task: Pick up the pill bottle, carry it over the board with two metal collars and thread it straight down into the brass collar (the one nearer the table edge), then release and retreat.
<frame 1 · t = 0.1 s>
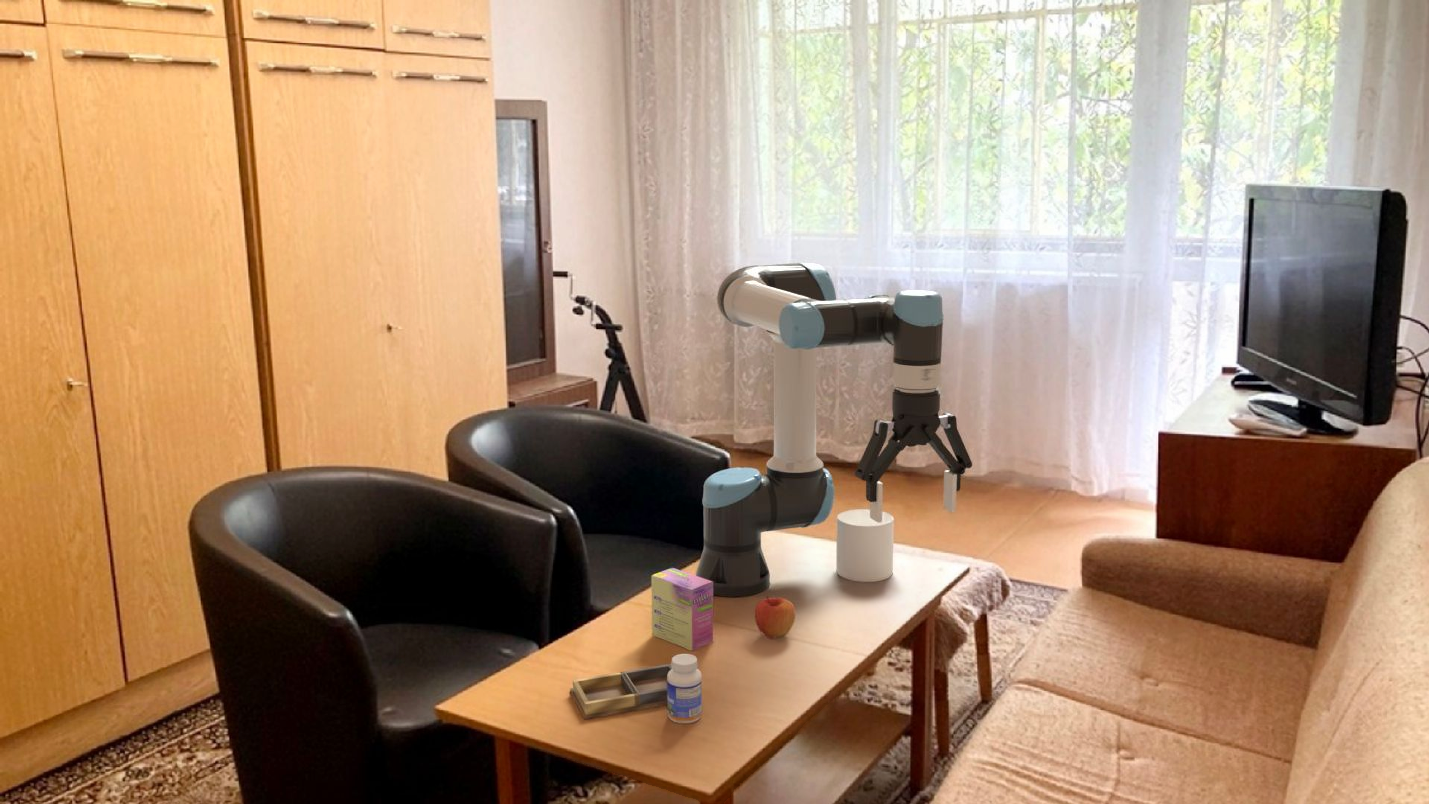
hand: (913, 515, 187), 28 cm above the table, fingers open, 13 cm apart
pill bottle: (685, 717, 179), on the table
cup: (864, 572, 239), on the table
box: (682, 640, 208), on the table
collar board: (630, 695, 186), on the table
apple: (774, 637, 208), on the table
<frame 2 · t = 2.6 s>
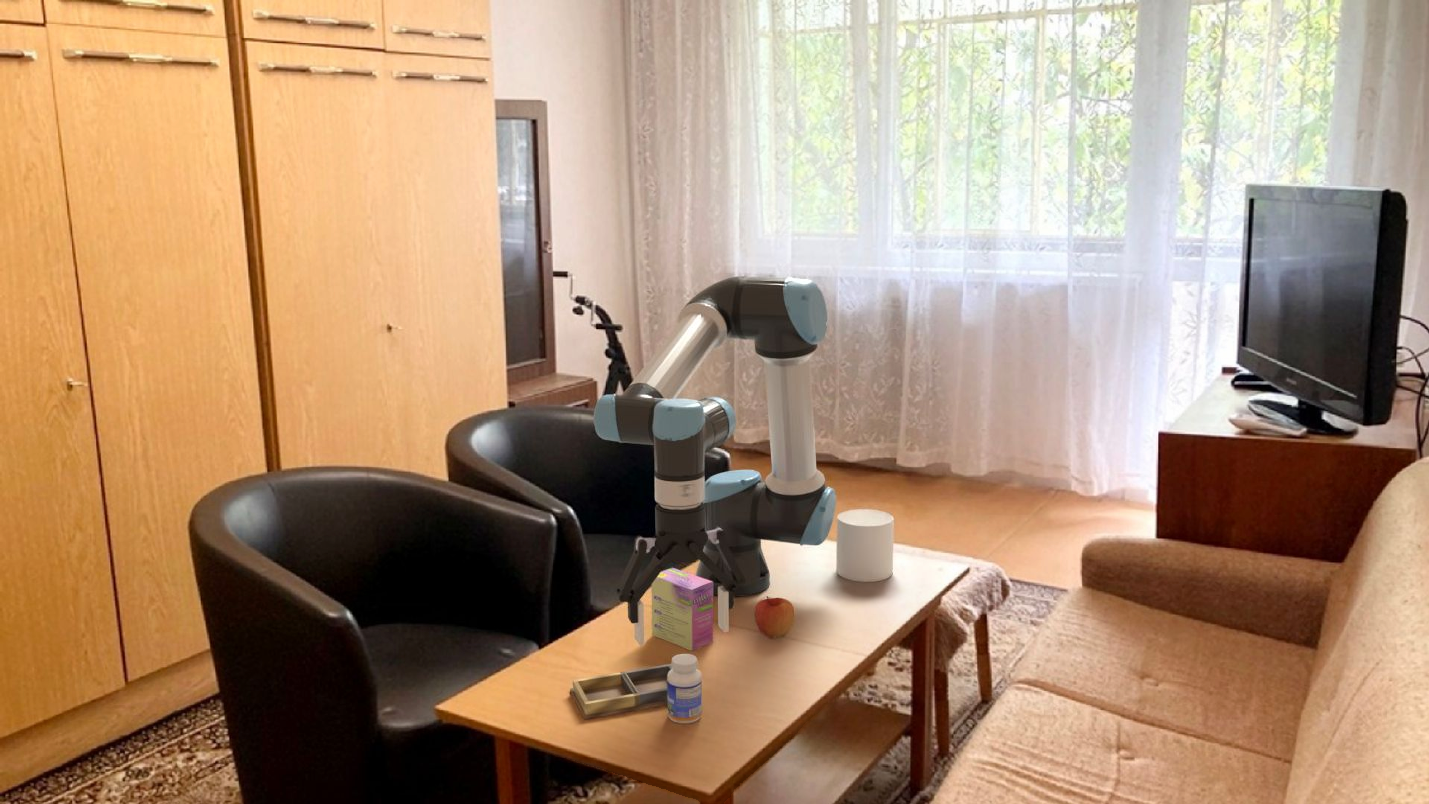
hand: (682, 635, 176), 14 cm above the table, fingers open, 13 cm apart
nothing on the table moved.
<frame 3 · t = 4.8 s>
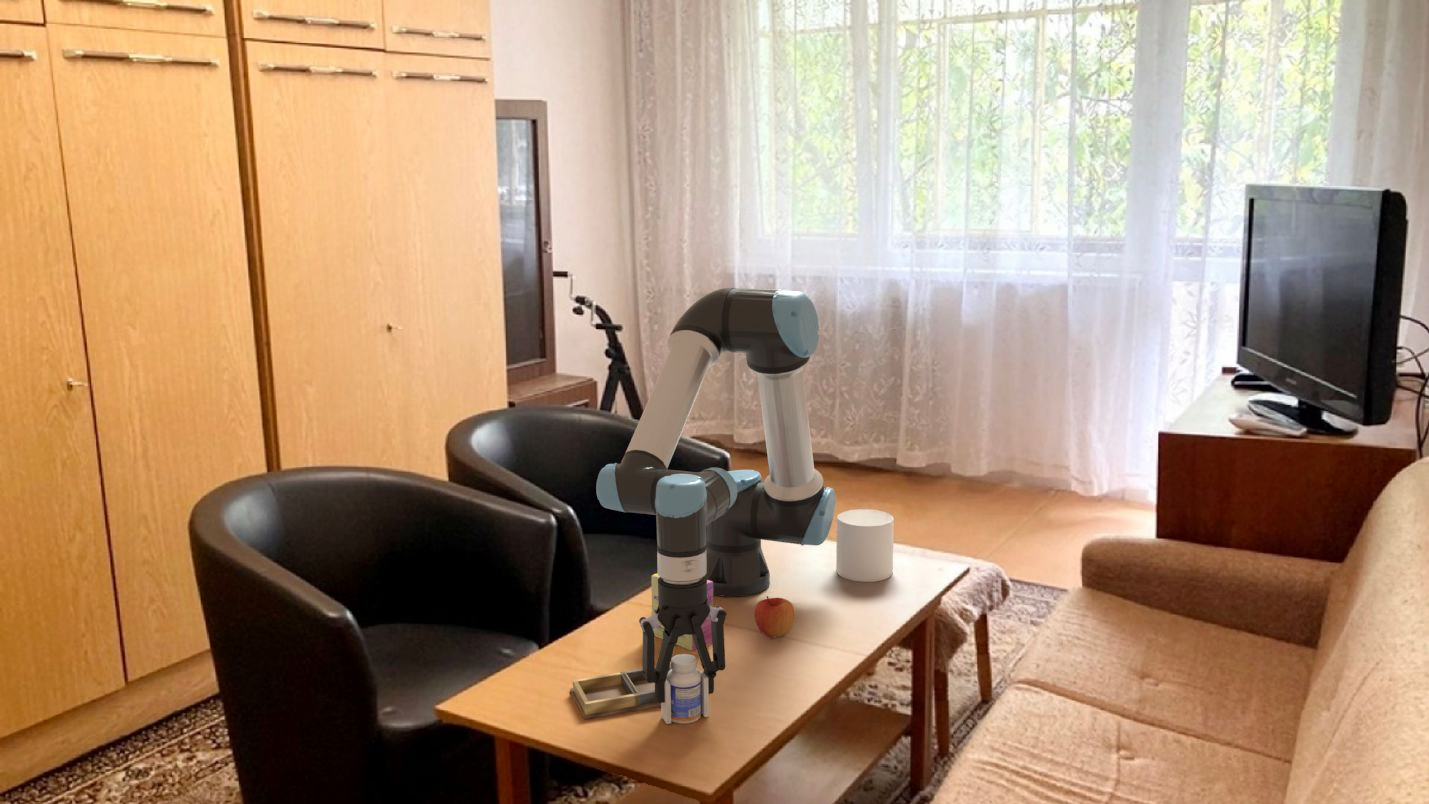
hand: (685, 716, 179), 0 cm above the table, fingers closed on pill bottle, 5 cm apart
pill bottle: (684, 717, 179), on the table, touching gripper
everything else where it was.
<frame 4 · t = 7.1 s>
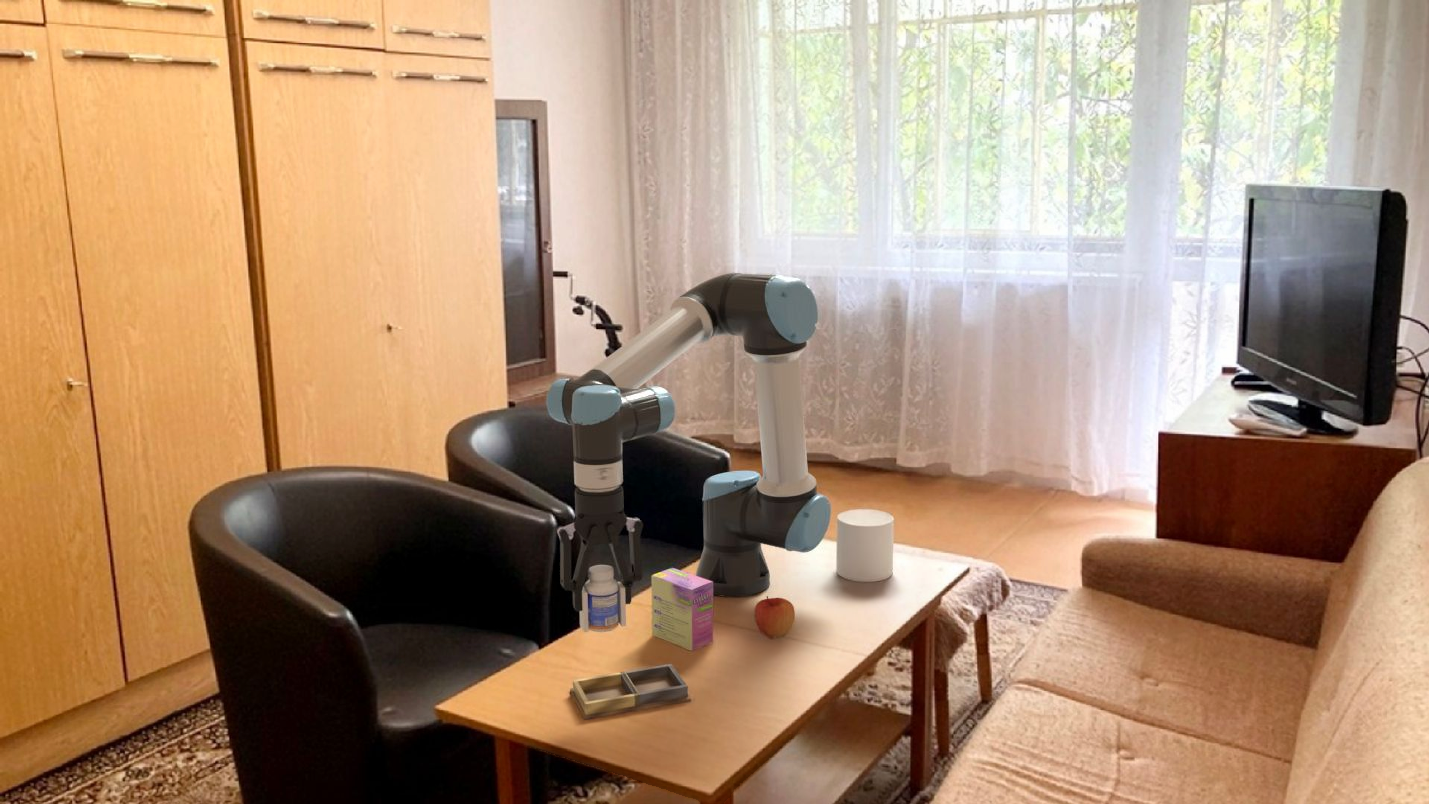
hand: (603, 625, 182), 13 cm above the table, fingers closed on pill bottle, 5 cm apart
pill bottle: (602, 627, 182), point 12 cm above the table, touching gripper
everything else where it was.
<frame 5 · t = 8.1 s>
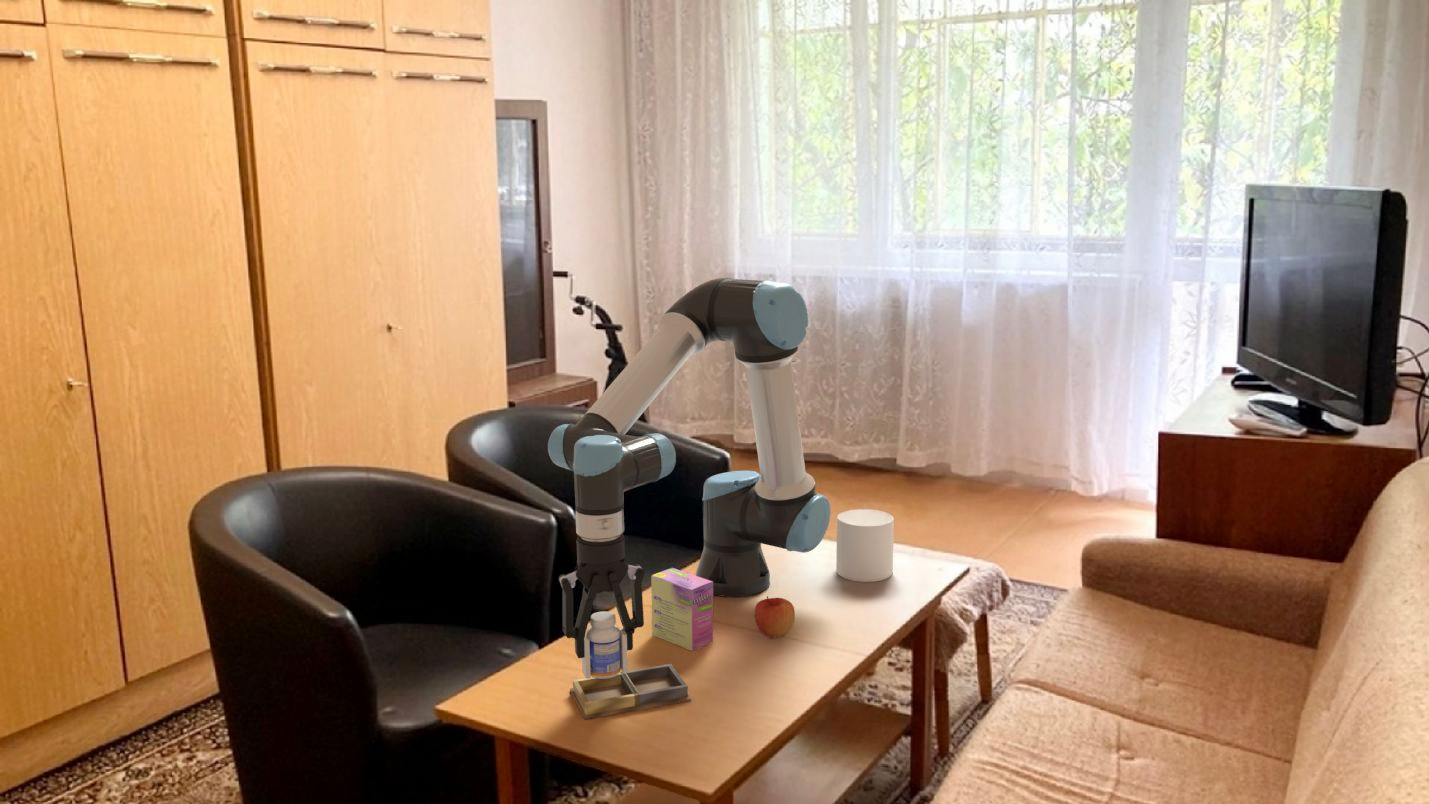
hand: (604, 671, 184), 5 cm above the table, fingers closed on pill bottle, 5 cm apart
pill bottle: (604, 673, 184), point 4 cm above the table, touching gripper
everything else where it was.
when the fingers open (3 cm above the table, at t = 9.0 s): pill bottle drops 3 cm, resting on collar board.
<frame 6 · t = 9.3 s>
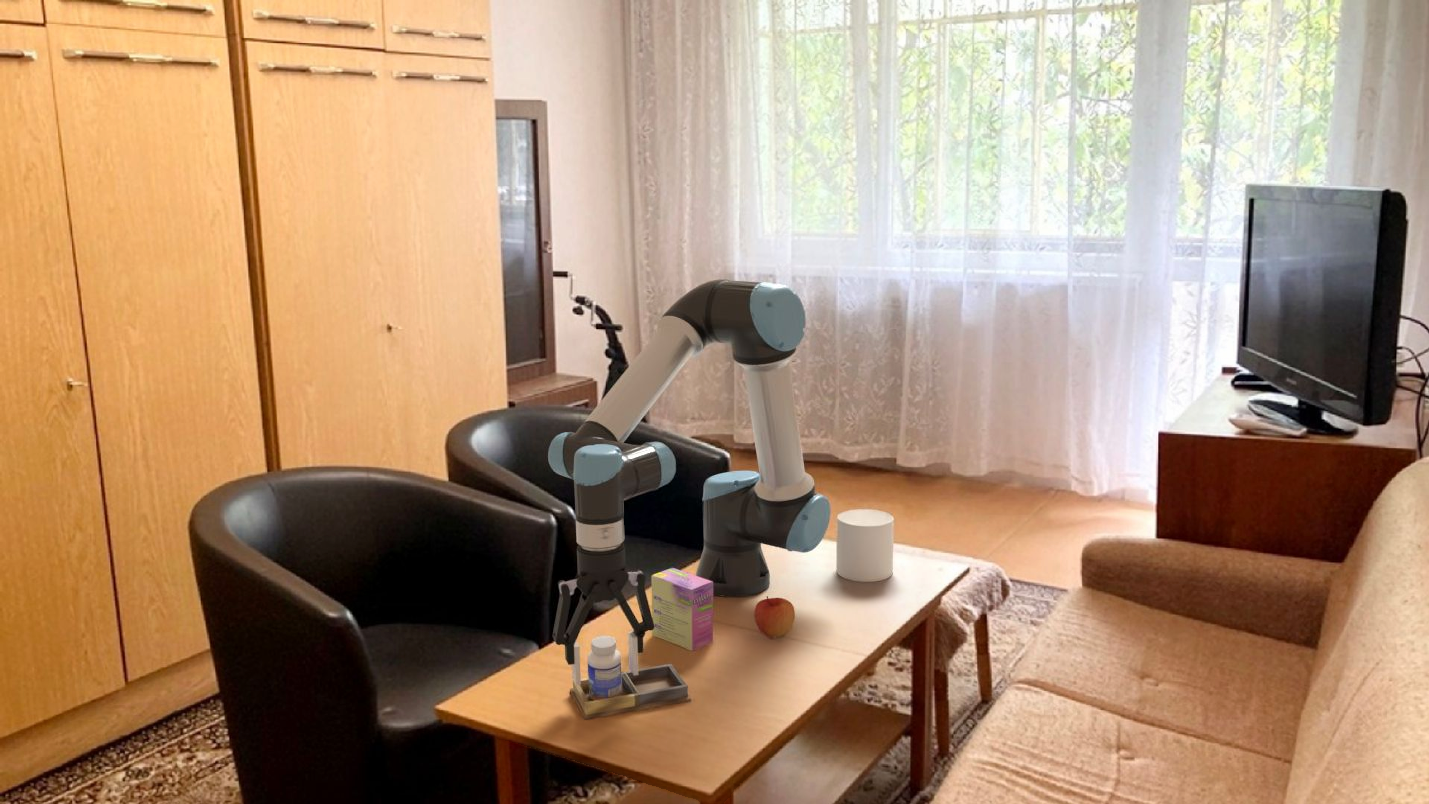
hand: (605, 676, 184), 4 cm above the table, fingers open, 9 cm apart
pill bottle: (606, 696, 185), resting on collar board
everything else where it was.
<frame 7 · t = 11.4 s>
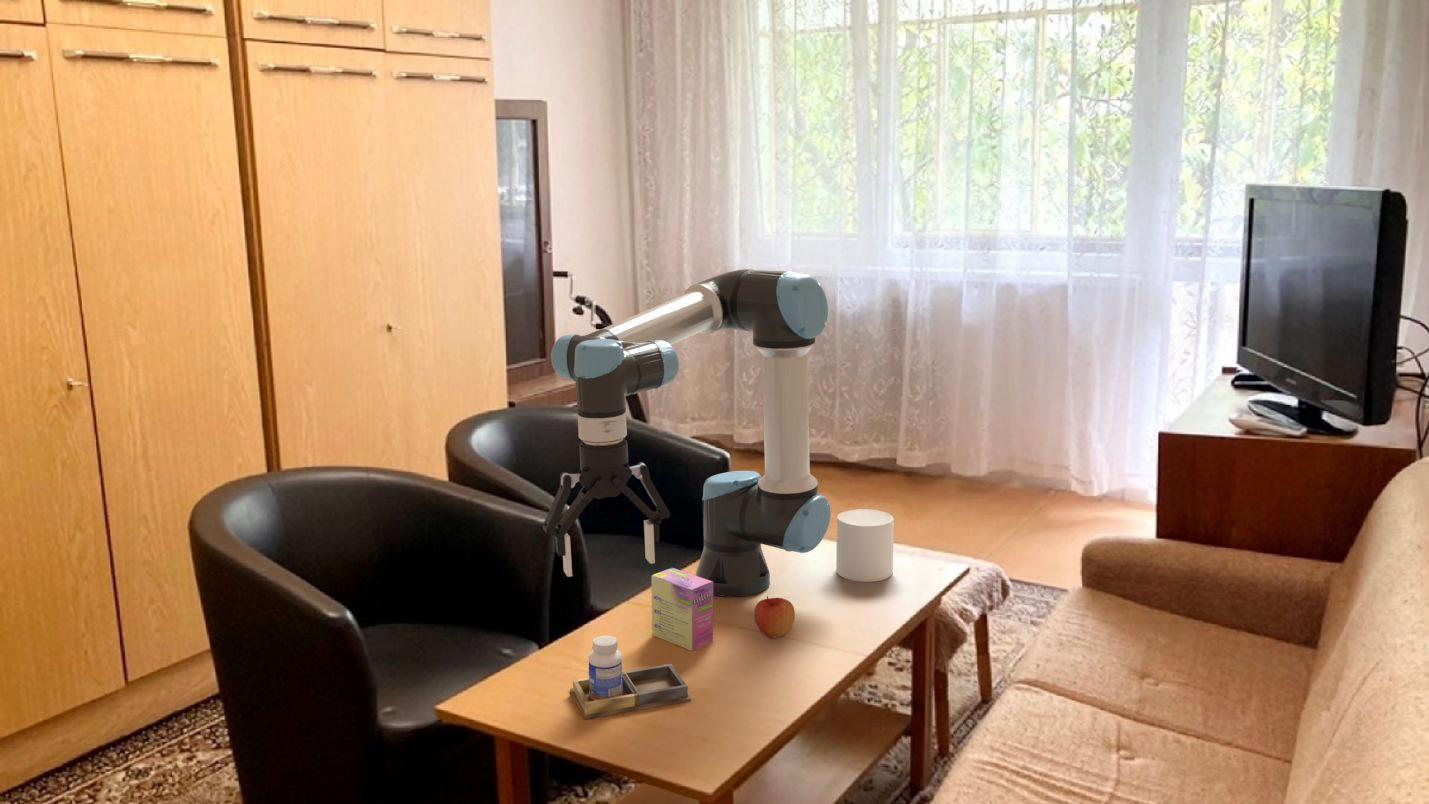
hand: (609, 567, 183), 22 cm above the table, fingers open, 13 cm apart
nothing on the table moved.
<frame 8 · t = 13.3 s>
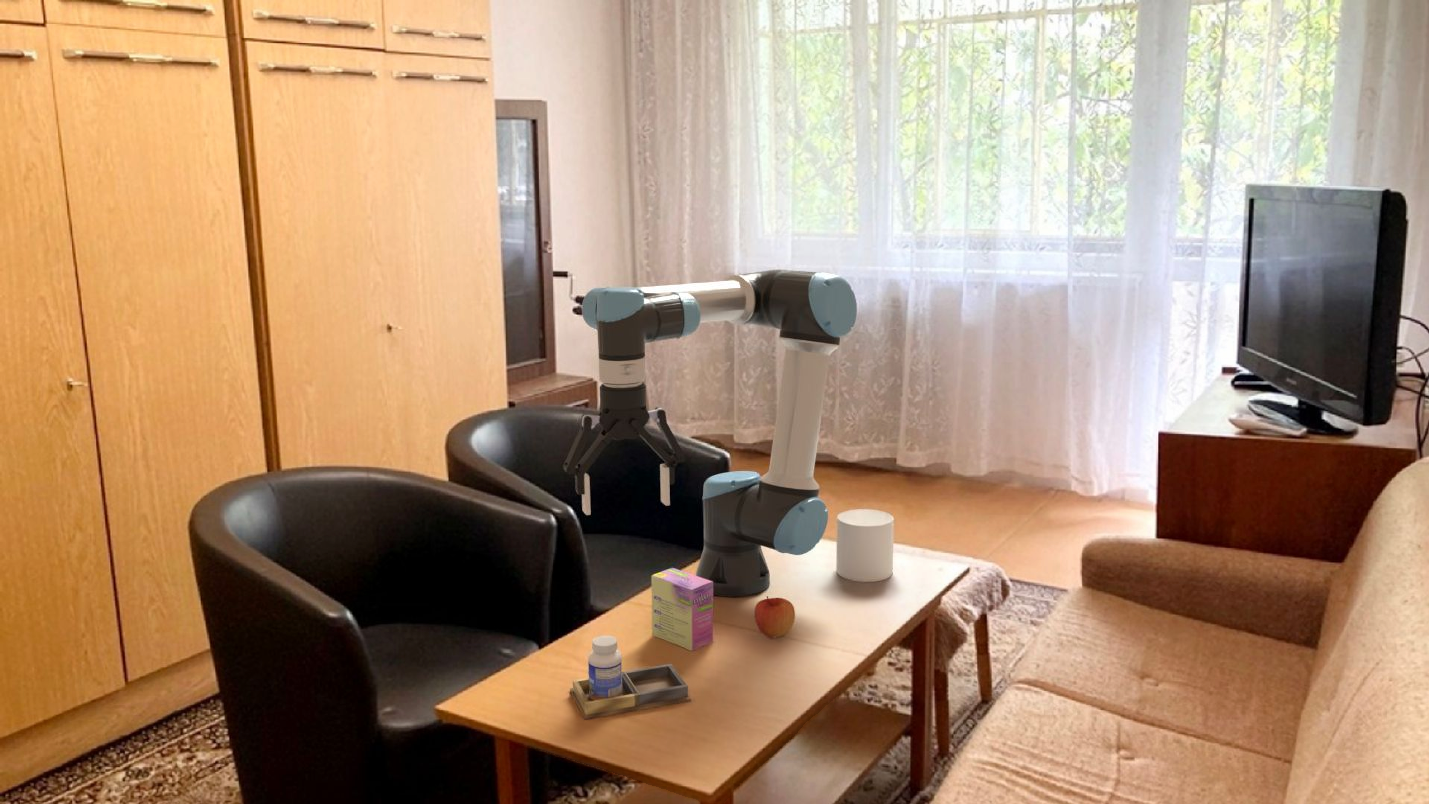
hand: (626, 508, 190), 29 cm above the table, fingers open, 13 cm apart
nothing on the table moved.
at the end: pill bottle 0.5 cm from the target spot on the collar board, point 0.2 cm above the collar board's base; pill bottle tilted 0°; the gripper is holding nothing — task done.
